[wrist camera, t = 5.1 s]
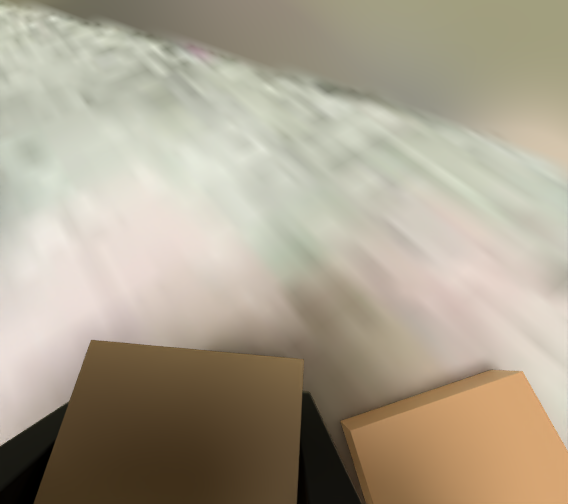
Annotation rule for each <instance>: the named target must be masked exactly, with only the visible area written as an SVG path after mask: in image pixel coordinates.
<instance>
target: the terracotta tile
mask: <svg viewBox="0 0 568 504" xmlns="http://www.w3.org/2000/svg"><path fill="white" fill-rule="evenodd" d="M341 424H342V427H343V431H344V434H345V437H346V440H347V444H348V447H349V450H350V453H351V457H352V460H353V463H354V466H355V469H356V473H357V476H358V479H359V482H360V486H361V489H362V492H363V495H364V499H365V502H366V504H568V451H567V449H566V447H565V446H564V444H563V442H562V440H561V439H560V437H559V435H558V433H557V431H556V430H555V428H554V426H553V424H552V423H551V421H550V419H549V417H548V416H547V414H546V412H545V410H544V409H543V407H542V405H541V403H540V401H539V400H538V398H537V396H536V394H535V393H534V391H533V389H532V387H531V386H530V384H529V382H528V380H527V378H526V377H525V375H524V373H523V371H506V370H489V371H486V372H483V373H480V374H477V375H474V376H471V377H468V378H465V379H463V380H460V381H457V382H454V383H451V384H448V385H445V386H442V387H439V388H436V389H433V390H430V391H427V392H424V393H421V394H418V395H415V396H413V397H410V398H407V399H404V400H401V401H398V402H395V403H392V404H389V405H386V406H383V407H380V408H377V409H374V410H371V411H368V412H365V413H362V414H360V415H357V416H354V417H351V418H348V419H345V420H342V421H341Z"/></svg>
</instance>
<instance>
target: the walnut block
mask: <svg viewBox="0 0 568 504" xmlns="http://www.w3.org/2000/svg"><path fill="white" fill-rule="evenodd" d="M303 369H304V359H295V358H284V357H273V356H262V355H251V354H240V353H229V352H218V351H207V350H196V349H185V348H174V347H163V346H152V345H141V344H130V343H119V342H108V341H97V340H91V342H90V344H89V347H88V350H87V353H86V356H85V359H84V361H83V364H82V367H81V370H80V373H79V376H78V379H77V381H76V384H75V387H74V390H73V393H72V396H71V398H70V401H69V404H68V407H67V410H66V413H65V416H64V418H63V421H62V424H61V427H60V430H59V433H58V435H57V438H56V441H55V444H54V447H53V450H52V453H51V455H50V458H49V461H48V464H47V467H46V470H45V472H44V475H43V478H42V481H41V484H40V487H39V490H38V492H37V495H36V498H35V501H34V504H297V488H298V468H299V448H300V428H301V408H302V389H303Z"/></svg>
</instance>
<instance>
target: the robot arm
mask: <svg viewBox="0 0 568 504" xmlns="http://www.w3.org/2000/svg"><path fill="white" fill-rule="evenodd" d="M68 404H69V402H67V403H66V404H64V405H63V406H61V407H60V408H58V409H57V410H55V411H54V412H52V413H50V414H49V415H47V416H46V417H44V418H43V419H41V420H40V421H38V422H37V423H35V424H34V425H32V426H30V427H29V428H27V429H26V430H24V431H23V432H21V433H20V434H18V435H17V436H15V437H14V438H12V439H10V440H9V441H7V442H6V443H4V444H3V445H1V446H0V504H34V501H35V498H36V495H37V492H38V490H39V487H40V484H41V481H42V478H43V475H44V472H45V470H46V467H47V464H48V461H49V458H50V455H51V453H52V450H53V447H54V444H55V441H56V438H57V435H58V433H59V430H60V427H61V424H62V421H63V418H64V416H65V413H66V410H67V407H68ZM297 504H362V502H361V500H360V498H359V495H358V493H357V491H356V489H355V487H354V485H353V483H352V481H351V478H350V476H349V474H348V472H347V470H346V468H345V466H344V464H343V461H342V459H341V457H340V455H339V453H338V451H337V449H336V447H335V445H334V442H333V440H332V438H331V436H330V434H329V432H328V430H327V428H326V425H325V423H324V421H323V419H322V417H321V415H320V413H319V411H318V408H317V406H316V404H315V402H314V400H313V398H312V396H311V394H310V393H309V392H307V391H302V408H301V428H300V448H299V468H298V488H297Z"/></svg>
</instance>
